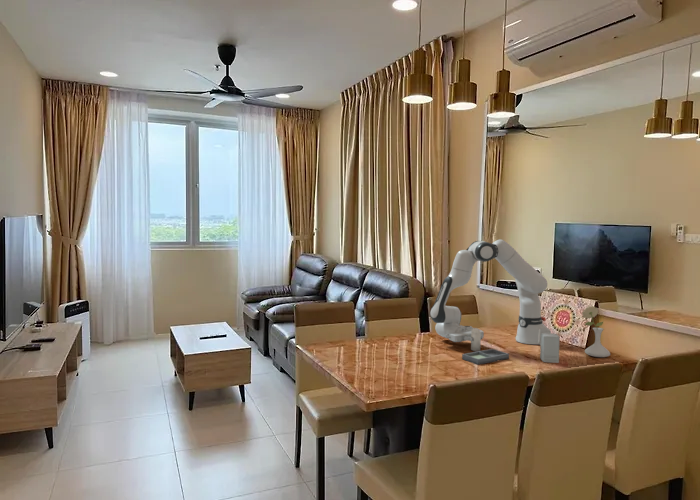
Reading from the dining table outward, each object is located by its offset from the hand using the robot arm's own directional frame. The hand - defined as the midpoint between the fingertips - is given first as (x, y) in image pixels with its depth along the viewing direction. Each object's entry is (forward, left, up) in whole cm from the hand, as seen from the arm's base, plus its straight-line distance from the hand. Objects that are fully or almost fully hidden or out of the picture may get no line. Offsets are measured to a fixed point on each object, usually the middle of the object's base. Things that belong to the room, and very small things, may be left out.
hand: (477, 338), depth 247 cm
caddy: (+7, +13, -6) cm, 16 cm away
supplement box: (-18, +30, -7) cm, 36 cm away
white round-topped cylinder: (0, -1, -6) cm, 6 cm away
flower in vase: (-45, +36, -7) cm, 58 cm away
